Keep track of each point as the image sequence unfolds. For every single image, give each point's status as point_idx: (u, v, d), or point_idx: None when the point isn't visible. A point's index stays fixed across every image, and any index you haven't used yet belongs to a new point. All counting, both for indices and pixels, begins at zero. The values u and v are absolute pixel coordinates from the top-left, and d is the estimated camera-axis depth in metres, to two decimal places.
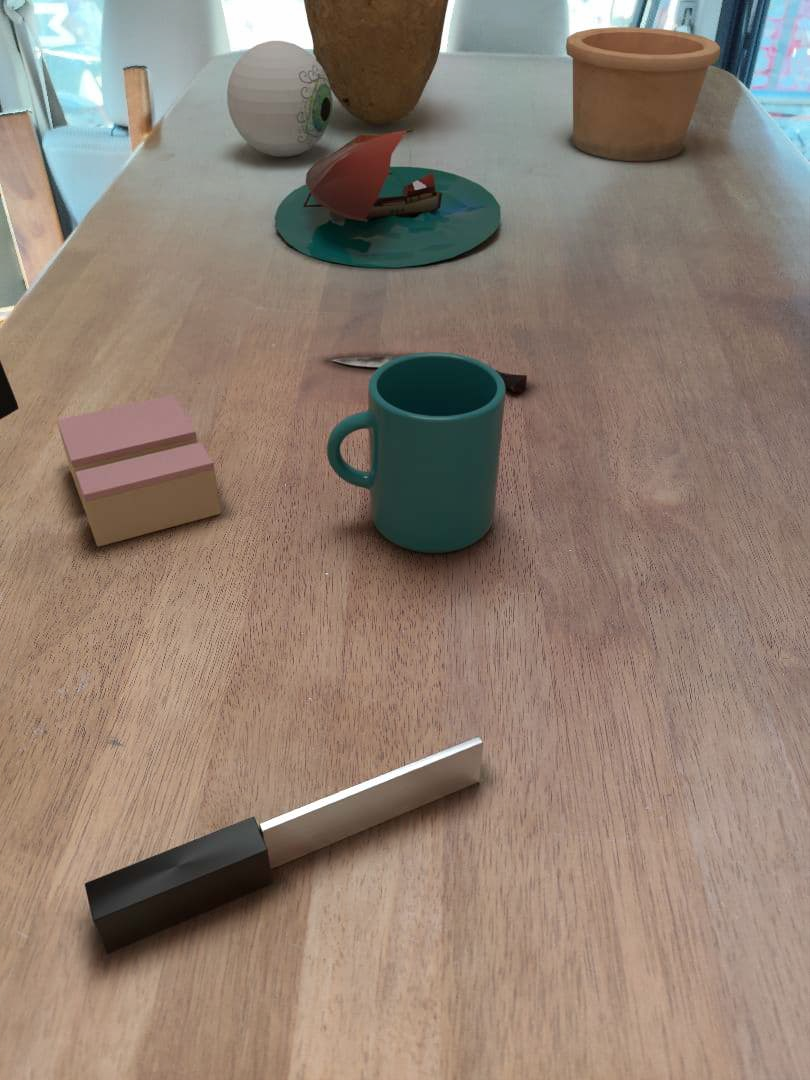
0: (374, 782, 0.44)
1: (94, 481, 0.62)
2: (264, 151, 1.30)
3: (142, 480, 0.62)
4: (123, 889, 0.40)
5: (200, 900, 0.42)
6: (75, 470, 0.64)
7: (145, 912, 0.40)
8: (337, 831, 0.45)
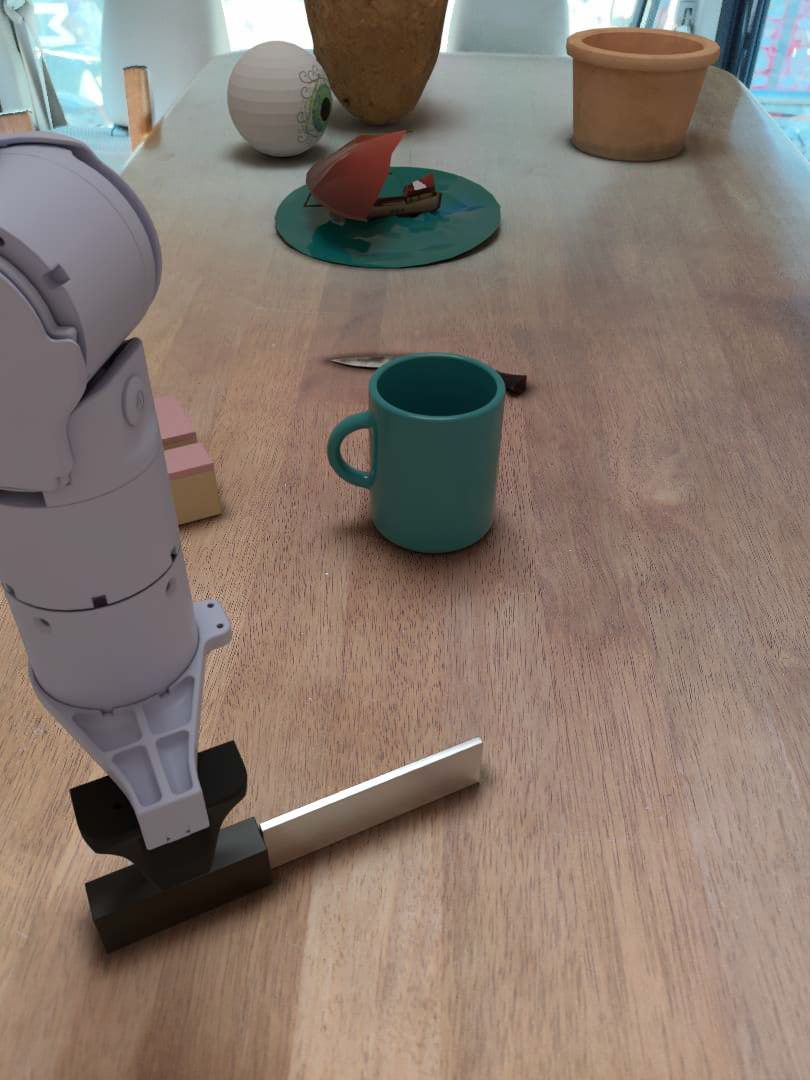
0: (374, 782, 0.44)
1: None
2: (264, 151, 1.30)
3: None
4: (123, 889, 0.40)
5: (200, 900, 0.42)
6: None
7: (145, 912, 0.40)
8: (337, 831, 0.45)
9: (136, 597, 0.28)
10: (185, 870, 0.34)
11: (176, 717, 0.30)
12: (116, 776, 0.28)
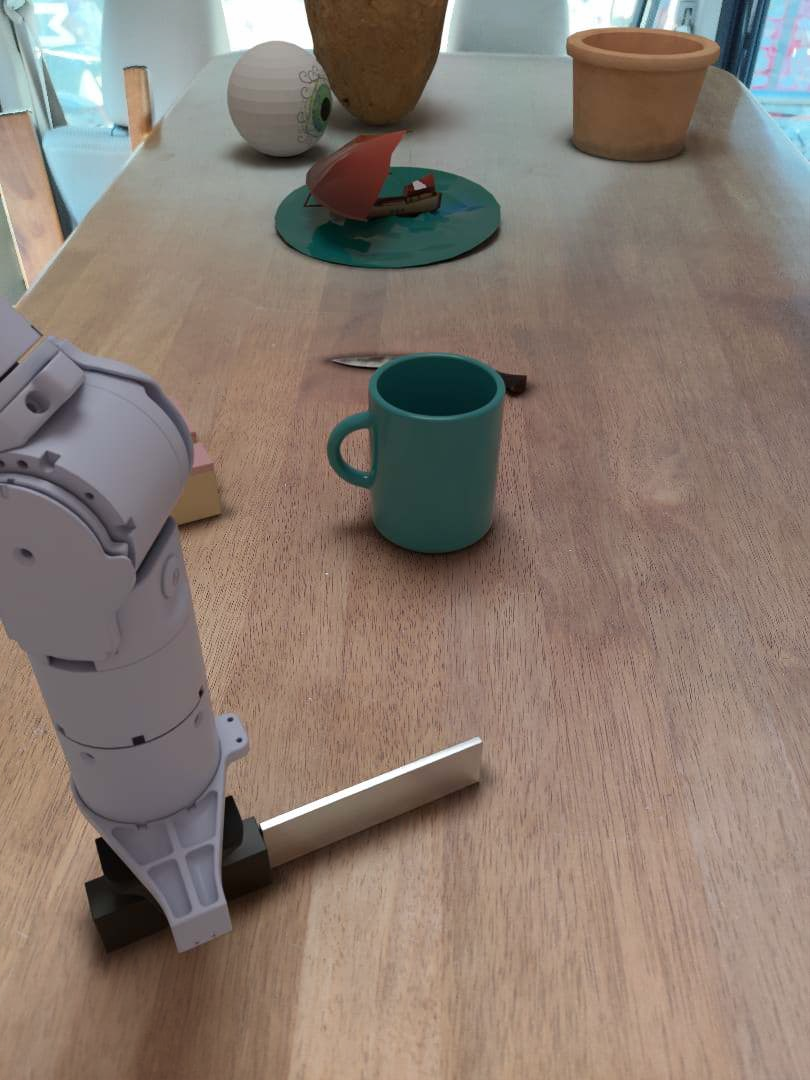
0: (374, 782, 0.44)
1: None
2: (264, 151, 1.30)
3: None
4: None
5: None
6: None
7: (144, 911, 0.40)
8: (337, 831, 0.45)
9: (169, 733, 0.32)
10: None
11: (202, 829, 0.34)
12: (152, 888, 0.32)
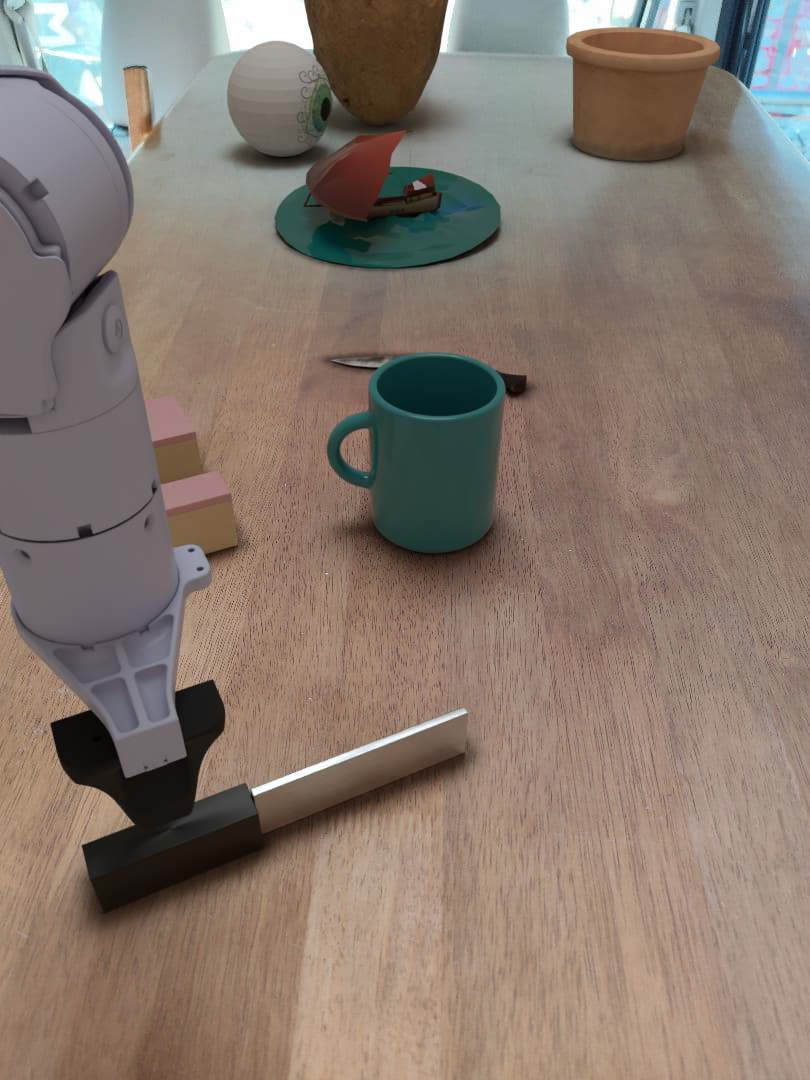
0: (362, 750, 0.46)
1: None
2: (264, 151, 1.30)
3: None
4: (119, 851, 0.42)
5: (193, 862, 0.43)
6: None
7: (140, 872, 0.42)
8: (326, 798, 0.47)
9: (114, 530, 0.28)
10: (166, 811, 0.35)
11: (155, 653, 0.31)
12: (95, 705, 0.29)
